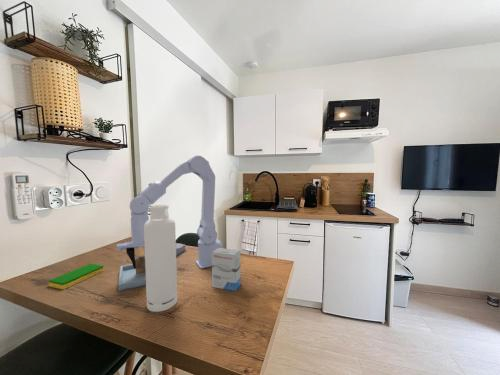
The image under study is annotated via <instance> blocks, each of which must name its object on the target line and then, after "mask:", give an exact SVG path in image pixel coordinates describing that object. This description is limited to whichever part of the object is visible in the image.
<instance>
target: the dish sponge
mask: <svg viewBox="0 0 500 375" xmlns="http://www.w3.org/2000/svg"><path fill="white" fill-rule="evenodd" d="M104 271H105V269H104V265H102V264H96V263H89V264H86V265H84V266H81V267H79V268H76V269H74V270H72V271H69V272H66V273H63V274H62V275H59V276H57V277H53V278H51V279H49V280H48V286H49V287H50V288H56V289H60V290H65V289H68V288H69V287H71V286H74V285H76V284H78V283H80V282H83V281H84V280H86V279H89V278H92V277H94V276H96V275H97V274H101V273H103V272H104Z"/></svg>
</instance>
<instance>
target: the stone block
mask: <svg viewBox="0 0 500 375" xmlns="http://www.w3.org/2000/svg"><path fill="white" fill-rule="evenodd" d="M185 251H186V244H185V243H184V244H183V243H177V242H176V257H178V256H180V254H182V253H183V252H185Z"/></svg>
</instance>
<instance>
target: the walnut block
mask: <svg viewBox="0 0 500 375" xmlns="http://www.w3.org/2000/svg"><path fill="white" fill-rule="evenodd" d="M135 264H136V275H137V274H141V273H146V270H145V254H144V255H139V256H135Z"/></svg>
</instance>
